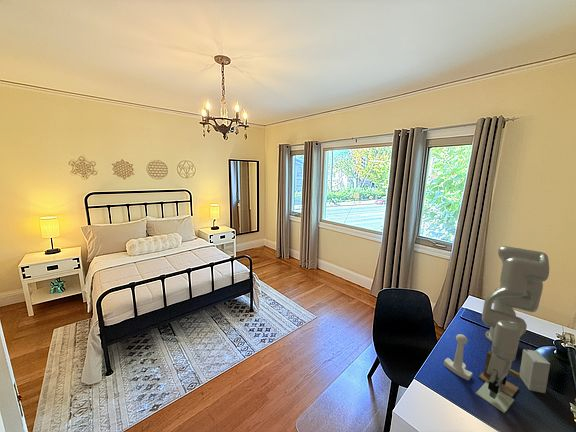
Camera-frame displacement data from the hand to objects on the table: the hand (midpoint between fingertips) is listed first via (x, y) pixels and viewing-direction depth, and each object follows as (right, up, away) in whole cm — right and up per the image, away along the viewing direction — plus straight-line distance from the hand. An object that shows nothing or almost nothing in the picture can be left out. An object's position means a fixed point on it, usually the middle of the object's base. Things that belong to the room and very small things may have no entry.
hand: (496, 386), depth 103 cm
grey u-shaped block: (0, -4, +1) cm, 4 cm away
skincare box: (+22, -4, +7) cm, 23 cm away
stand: (+7, -4, +8) cm, 11 cm away
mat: (0, -6, +1) cm, 6 cm away
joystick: (-5, -3, +16) cm, 17 cm away
